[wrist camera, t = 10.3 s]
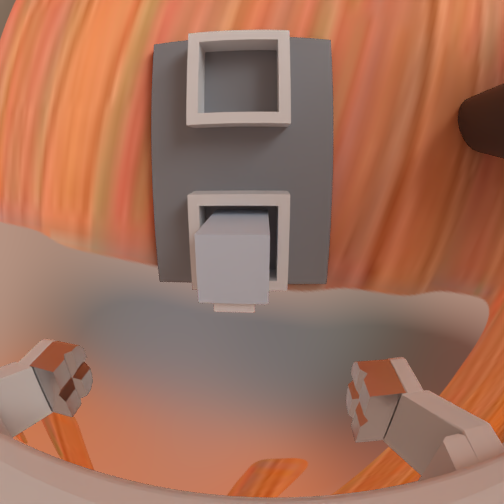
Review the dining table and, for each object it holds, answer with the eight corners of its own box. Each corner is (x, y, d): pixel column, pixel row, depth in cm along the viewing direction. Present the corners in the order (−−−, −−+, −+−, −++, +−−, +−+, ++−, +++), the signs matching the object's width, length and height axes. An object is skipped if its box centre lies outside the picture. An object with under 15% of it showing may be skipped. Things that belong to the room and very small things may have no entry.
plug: (267, 210, 24) (270, 234, 17) (267, 269, 26) (268, 316, 18) (215, 209, 25) (194, 234, 17) (217, 268, 26) (199, 315, 18)
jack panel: (328, 44, 21) (337, 29, 18) (324, 279, 27) (332, 296, 24) (157, 48, 22) (143, 34, 18) (162, 277, 27) (150, 293, 24)
